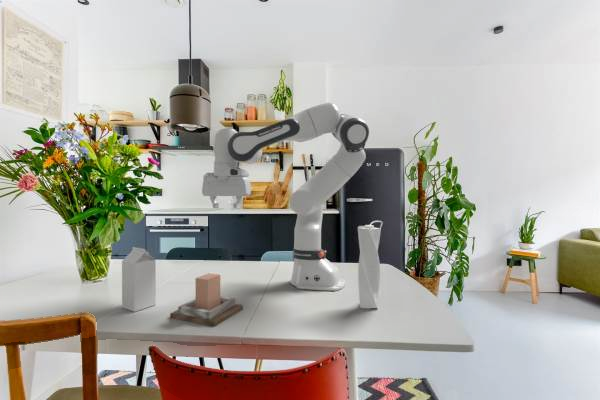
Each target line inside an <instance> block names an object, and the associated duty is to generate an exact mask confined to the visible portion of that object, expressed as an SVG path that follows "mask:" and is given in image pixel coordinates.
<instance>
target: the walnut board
mask: <svg viewBox="0 0 600 400" xmlns="http://www.w3.org/2000/svg"><path fill="white" fill-rule="evenodd" d="M243 306H244V305H242V304H239V303H236V298H234V297H233V298H232V297H226V296H221V295H220V305H218V306H217V307H215V308H213V309H211V310H204V309H198V308H196V298H194V299H193V300H190V301H187V302H185V303H184V304H181V305H179V306H178V307H177V310H175V311H172V312H170V313H169V318H171V319H176V320H181V321H186V322H191V323H196V324H200V325H207V326H209V327H210V326H212V327H216V326H218V325H220V324H221V323H222V322H225V321H226V320H227V319H229V318H230V317H232V316H234V315H235V314H237V313H238V312H240V311H242V310H243V308H244V307H243Z"/></svg>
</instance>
